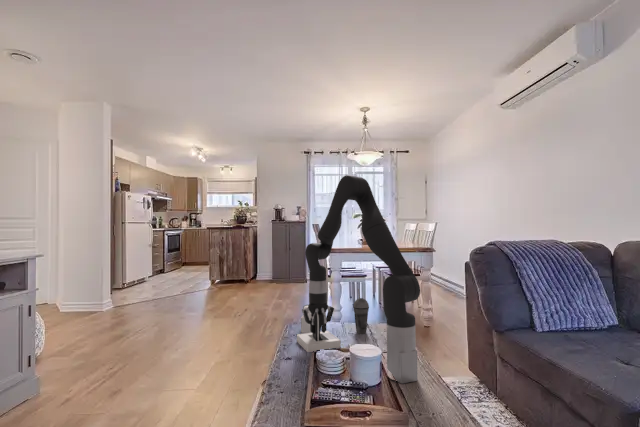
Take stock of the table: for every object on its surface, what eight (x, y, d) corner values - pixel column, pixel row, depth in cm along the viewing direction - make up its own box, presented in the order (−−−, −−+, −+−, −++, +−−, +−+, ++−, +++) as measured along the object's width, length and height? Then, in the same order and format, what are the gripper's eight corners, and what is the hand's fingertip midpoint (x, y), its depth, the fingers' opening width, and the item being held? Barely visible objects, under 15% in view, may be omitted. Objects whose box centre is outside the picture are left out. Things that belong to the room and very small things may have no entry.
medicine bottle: (303, 328, 176) (303, 303, 177) (318, 329, 175) (318, 303, 176) (300, 333, 169) (300, 306, 170) (316, 333, 168) (316, 307, 169)
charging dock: (340, 347, 149) (340, 340, 150) (307, 352, 144) (307, 344, 145) (327, 337, 163) (327, 330, 163) (296, 341, 158) (296, 334, 158)
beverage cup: (370, 335, 166) (369, 290, 166) (353, 335, 166) (353, 290, 166) (368, 330, 173) (368, 287, 173) (352, 330, 173) (352, 287, 174)
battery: (325, 341, 151) (325, 313, 151) (316, 342, 150) (315, 313, 150) (321, 336, 157) (320, 309, 158) (312, 337, 157) (312, 309, 157)
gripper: (330, 288, 160) (330, 328, 160) (298, 290, 155) (299, 332, 155) (337, 291, 153) (337, 333, 153) (304, 294, 148) (304, 337, 148)
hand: (318, 332), depth 154 cm, fingers closed on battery, 4 cm apart
